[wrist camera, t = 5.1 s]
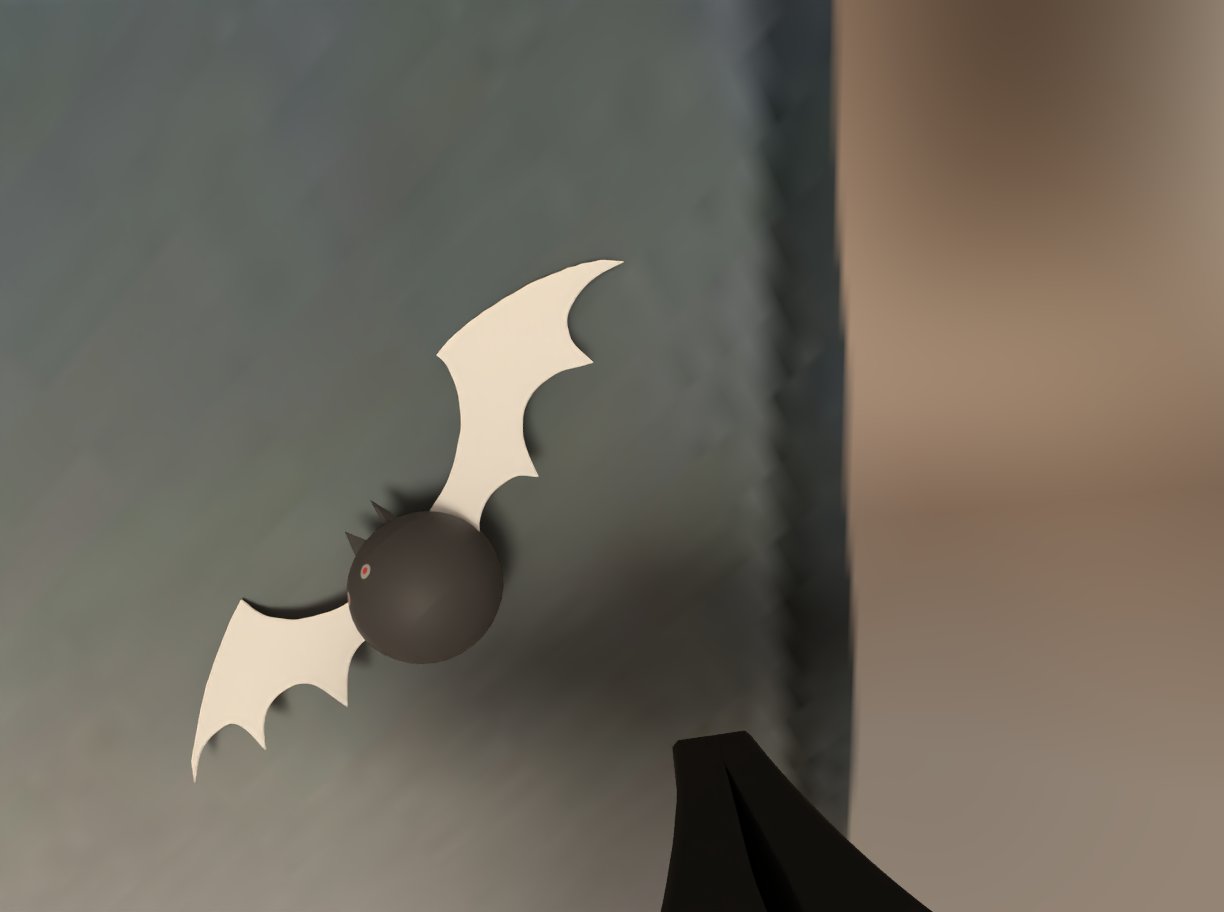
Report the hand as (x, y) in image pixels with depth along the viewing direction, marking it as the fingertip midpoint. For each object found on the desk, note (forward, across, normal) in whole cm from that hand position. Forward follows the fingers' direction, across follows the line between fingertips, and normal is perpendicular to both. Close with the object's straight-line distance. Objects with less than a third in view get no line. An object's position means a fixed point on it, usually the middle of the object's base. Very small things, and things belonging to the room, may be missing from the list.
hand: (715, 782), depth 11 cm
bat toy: (+2, +4, -2) cm, 5 cm away
